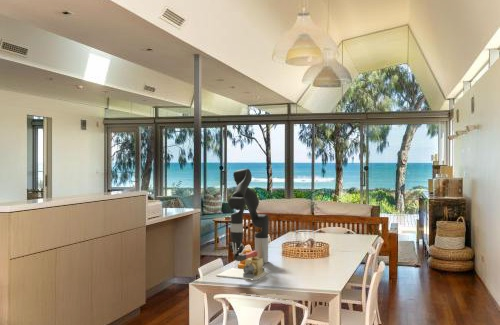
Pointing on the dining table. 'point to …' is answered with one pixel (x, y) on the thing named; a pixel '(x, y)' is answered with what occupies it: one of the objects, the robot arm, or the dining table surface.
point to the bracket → (242, 263)
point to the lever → (246, 255)
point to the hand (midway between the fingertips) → (236, 259)
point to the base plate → (239, 274)
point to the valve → (253, 267)
